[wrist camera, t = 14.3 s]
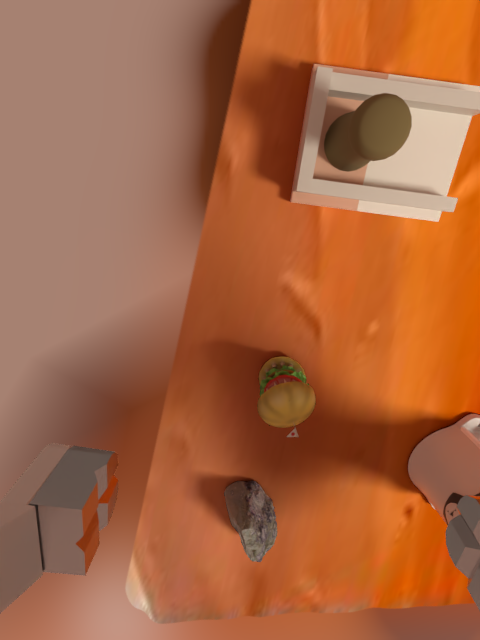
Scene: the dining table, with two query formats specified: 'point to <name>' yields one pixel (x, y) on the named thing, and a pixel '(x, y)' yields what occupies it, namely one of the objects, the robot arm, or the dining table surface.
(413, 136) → the white tray
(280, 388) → the hamburger
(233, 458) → the dining table surface
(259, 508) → the mineral rock
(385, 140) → the cork
